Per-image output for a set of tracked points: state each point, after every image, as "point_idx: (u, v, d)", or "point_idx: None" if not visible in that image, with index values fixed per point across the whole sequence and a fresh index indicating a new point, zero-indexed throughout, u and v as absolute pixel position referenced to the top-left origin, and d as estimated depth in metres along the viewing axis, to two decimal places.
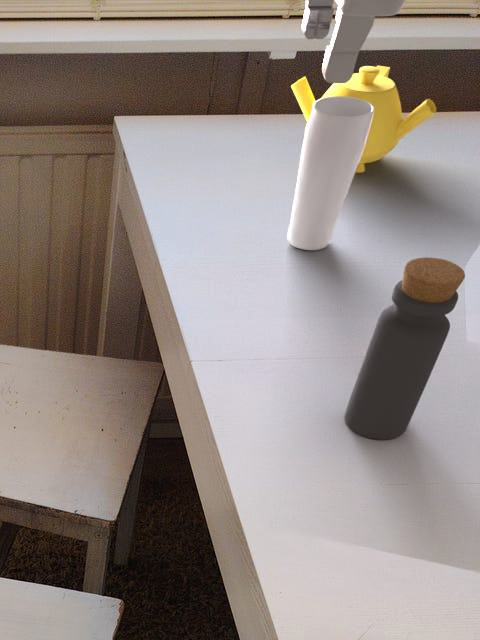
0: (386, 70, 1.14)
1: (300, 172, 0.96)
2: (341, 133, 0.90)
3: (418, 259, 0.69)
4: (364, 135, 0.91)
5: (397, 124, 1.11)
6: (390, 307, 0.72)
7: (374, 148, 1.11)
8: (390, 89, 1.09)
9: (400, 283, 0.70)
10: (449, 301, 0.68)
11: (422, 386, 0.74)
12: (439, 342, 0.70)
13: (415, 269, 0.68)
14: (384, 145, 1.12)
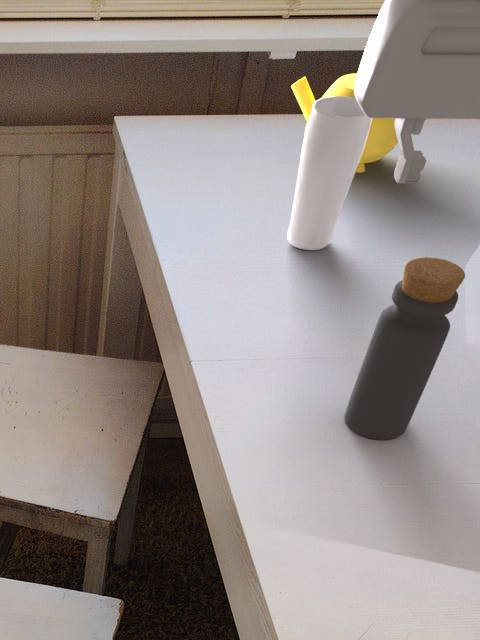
0: None
1: (300, 172, 0.96)
2: (341, 133, 0.90)
3: (418, 259, 0.69)
4: (364, 135, 0.91)
5: None
6: (390, 307, 0.72)
7: (374, 148, 1.11)
8: None
9: (400, 283, 0.70)
10: (449, 301, 0.68)
11: (422, 386, 0.74)
12: (439, 342, 0.70)
13: (415, 269, 0.68)
14: (384, 145, 1.12)
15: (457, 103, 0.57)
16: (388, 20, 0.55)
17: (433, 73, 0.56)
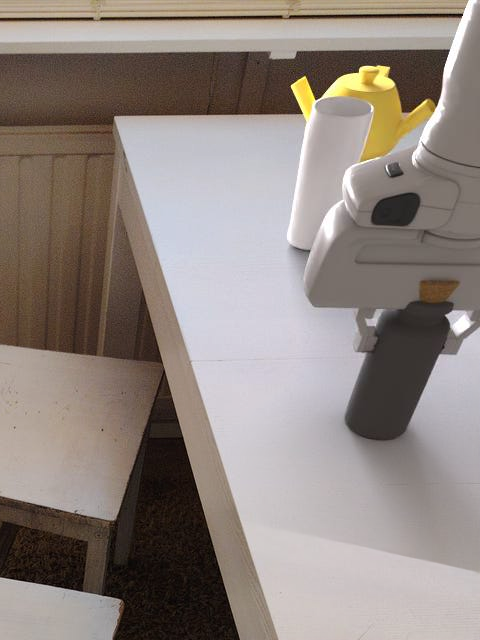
0: (386, 70, 1.14)
1: (300, 172, 0.96)
2: (341, 133, 0.90)
3: None
4: (364, 135, 0.91)
5: (397, 124, 1.11)
6: None
7: (374, 148, 1.11)
8: (390, 89, 1.09)
9: None
10: None
11: (422, 386, 0.74)
12: (439, 342, 0.70)
13: None
14: (384, 145, 1.12)
15: (387, 298, 0.68)
16: (327, 236, 0.66)
17: (366, 277, 0.67)
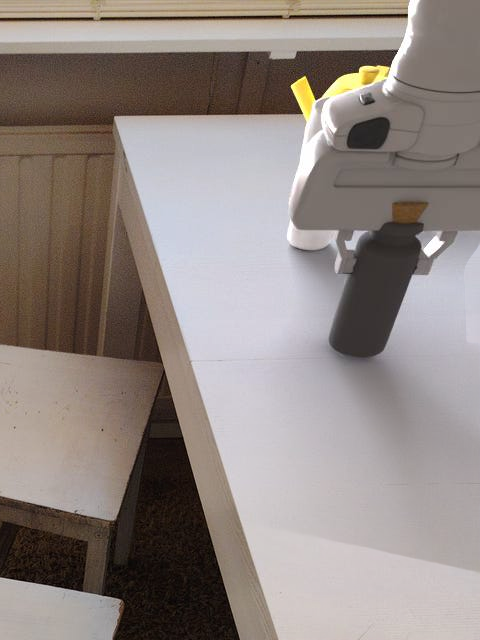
0: (386, 70, 1.14)
1: None
2: None
3: None
4: None
5: None
6: (367, 231, 0.79)
7: None
8: None
9: None
10: None
11: (397, 305, 0.81)
12: (411, 261, 0.78)
13: None
14: None
15: (363, 220, 0.75)
16: (308, 163, 0.73)
17: (344, 200, 0.74)
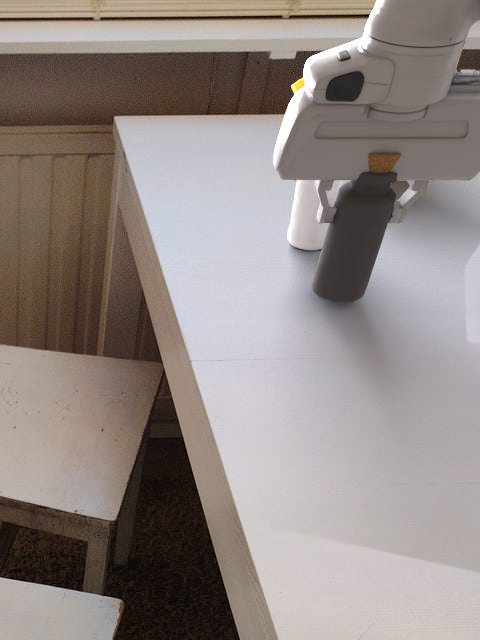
0: None
1: None
2: None
3: None
4: None
5: None
6: (347, 183, 0.86)
7: None
8: None
9: None
10: (393, 172, 0.82)
11: (375, 251, 0.88)
12: (387, 209, 0.84)
13: None
14: None
15: (342, 170, 0.82)
16: (291, 116, 0.80)
17: (324, 151, 0.81)
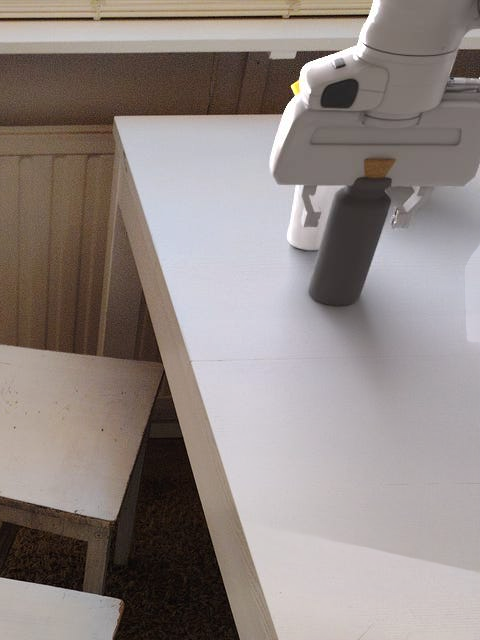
0: None
1: None
2: None
3: None
4: None
5: None
6: None
7: None
8: None
9: None
10: None
11: (370, 255, 0.89)
12: (382, 214, 0.86)
13: None
14: None
15: (337, 175, 0.83)
16: (287, 122, 0.81)
17: (319, 156, 0.82)
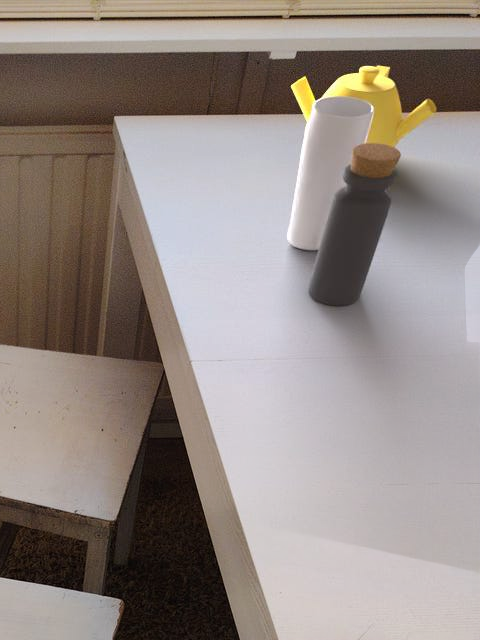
0: (386, 70, 1.14)
1: (300, 172, 0.96)
2: (341, 133, 0.90)
3: (364, 144, 0.84)
4: (364, 135, 0.91)
5: (397, 124, 1.11)
6: None
7: None
8: (390, 89, 1.09)
9: (349, 165, 0.85)
10: (388, 177, 0.83)
11: (370, 255, 0.89)
12: (382, 214, 0.86)
13: (361, 150, 0.83)
14: None
15: None
16: None
17: None
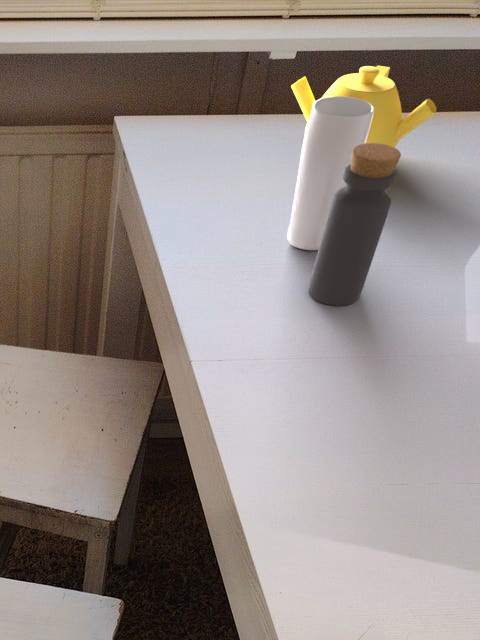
0: (386, 70, 1.14)
1: (300, 172, 0.96)
2: (341, 133, 0.90)
3: (364, 144, 0.84)
4: (364, 135, 0.91)
5: (397, 124, 1.11)
6: None
7: None
8: (390, 89, 1.09)
9: (350, 165, 0.85)
10: (388, 177, 0.83)
11: (370, 255, 0.89)
12: (382, 214, 0.86)
13: (361, 150, 0.83)
14: None
15: None
16: None
17: None
